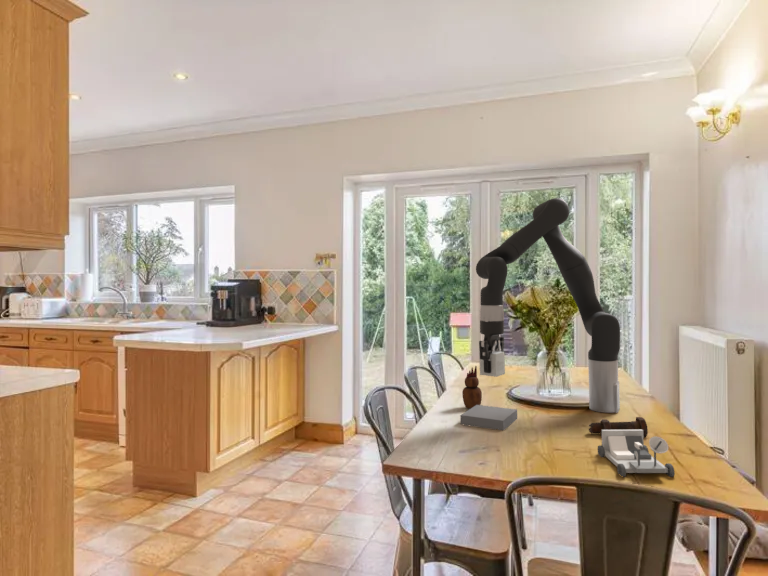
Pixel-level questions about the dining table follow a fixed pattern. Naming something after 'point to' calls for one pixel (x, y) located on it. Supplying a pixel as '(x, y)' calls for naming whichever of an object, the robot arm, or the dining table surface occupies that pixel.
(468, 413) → the stand
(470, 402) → the wooden figurine
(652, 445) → the toy go-kart
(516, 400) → the dining table surface
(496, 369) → the skincare box
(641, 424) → the bolt
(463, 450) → the dining table surface
